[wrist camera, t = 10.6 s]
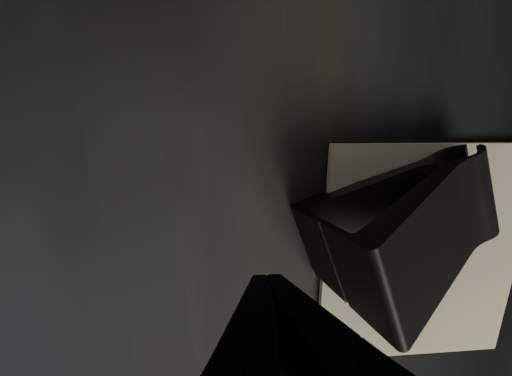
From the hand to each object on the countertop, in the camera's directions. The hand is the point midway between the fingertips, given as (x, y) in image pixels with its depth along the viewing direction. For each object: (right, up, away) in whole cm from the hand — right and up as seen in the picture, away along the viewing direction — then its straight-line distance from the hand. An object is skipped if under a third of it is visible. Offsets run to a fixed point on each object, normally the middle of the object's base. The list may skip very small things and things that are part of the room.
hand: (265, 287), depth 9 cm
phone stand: (+4, -2, +9) cm, 10 cm away
